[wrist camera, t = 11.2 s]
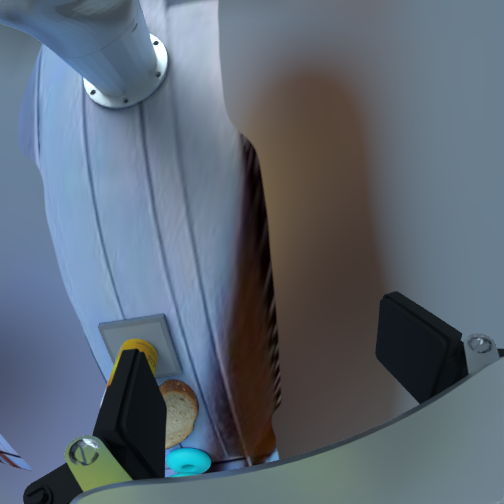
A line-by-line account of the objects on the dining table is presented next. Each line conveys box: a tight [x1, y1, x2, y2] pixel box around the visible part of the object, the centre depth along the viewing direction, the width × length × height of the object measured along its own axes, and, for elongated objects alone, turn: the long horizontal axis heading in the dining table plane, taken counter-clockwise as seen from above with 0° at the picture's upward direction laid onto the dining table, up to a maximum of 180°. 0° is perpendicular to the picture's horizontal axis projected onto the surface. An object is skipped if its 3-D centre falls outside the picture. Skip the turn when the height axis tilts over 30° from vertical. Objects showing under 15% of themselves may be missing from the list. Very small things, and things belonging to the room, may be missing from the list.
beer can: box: [100, 338, 158, 408], centre depth 33 cm, size 6×6×15 cm
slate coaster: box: [98, 313, 182, 378], centre depth 41 cm, size 11×11×1 cm
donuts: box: [167, 448, 211, 477], centre depth 45 cm, size 10×10×10 cm
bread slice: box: [159, 380, 199, 449], centre depth 44 cm, size 18×18×4 cm
